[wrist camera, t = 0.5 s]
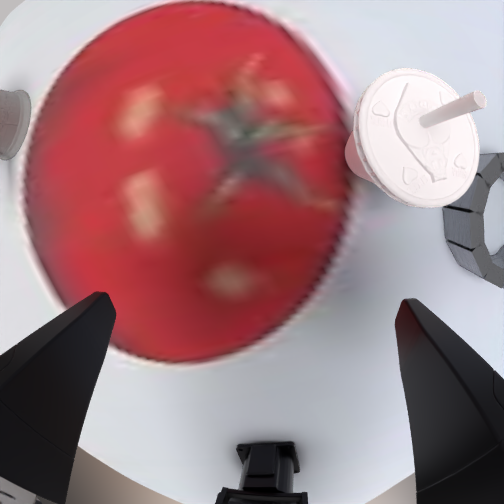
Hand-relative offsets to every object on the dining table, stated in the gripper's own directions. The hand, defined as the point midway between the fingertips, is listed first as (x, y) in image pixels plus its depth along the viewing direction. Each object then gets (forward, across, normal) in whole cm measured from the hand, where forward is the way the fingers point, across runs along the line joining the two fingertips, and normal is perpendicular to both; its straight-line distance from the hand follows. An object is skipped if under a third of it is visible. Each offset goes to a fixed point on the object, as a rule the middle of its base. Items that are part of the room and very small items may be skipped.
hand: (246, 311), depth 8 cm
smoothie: (+15, -7, -1) cm, 17 cm away
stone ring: (+13, -19, +3) cm, 23 cm away
